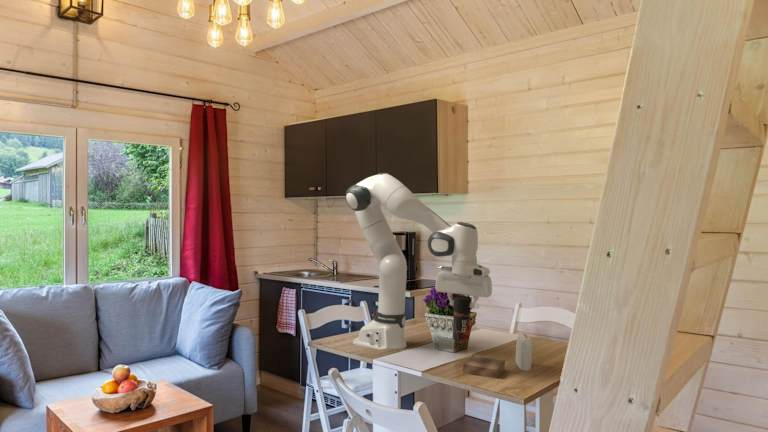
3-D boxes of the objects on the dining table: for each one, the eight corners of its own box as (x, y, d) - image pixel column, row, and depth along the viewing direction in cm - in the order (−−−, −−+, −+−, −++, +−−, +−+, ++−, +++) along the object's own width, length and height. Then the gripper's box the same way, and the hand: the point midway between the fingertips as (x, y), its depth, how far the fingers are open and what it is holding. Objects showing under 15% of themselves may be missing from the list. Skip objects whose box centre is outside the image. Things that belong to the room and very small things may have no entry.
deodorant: (459, 341, 205) (461, 299, 204) (449, 337, 210) (451, 296, 209) (472, 340, 208) (474, 298, 207) (462, 335, 213) (464, 295, 212)
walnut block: (462, 375, 203) (463, 364, 202) (471, 366, 214) (472, 355, 213) (496, 381, 198) (497, 370, 198) (504, 371, 209) (505, 360, 209)
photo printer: (513, 362, 219) (515, 330, 219) (525, 363, 219) (527, 330, 219) (519, 371, 209) (522, 337, 208) (531, 371, 209) (534, 337, 208)
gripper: (433, 266, 209) (431, 304, 209) (489, 272, 200) (487, 311, 201) (439, 264, 214) (437, 301, 215) (494, 270, 206) (492, 308, 207)
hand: (462, 306), depth 208 cm, fingers closed on deodorant, 6 cm apart
